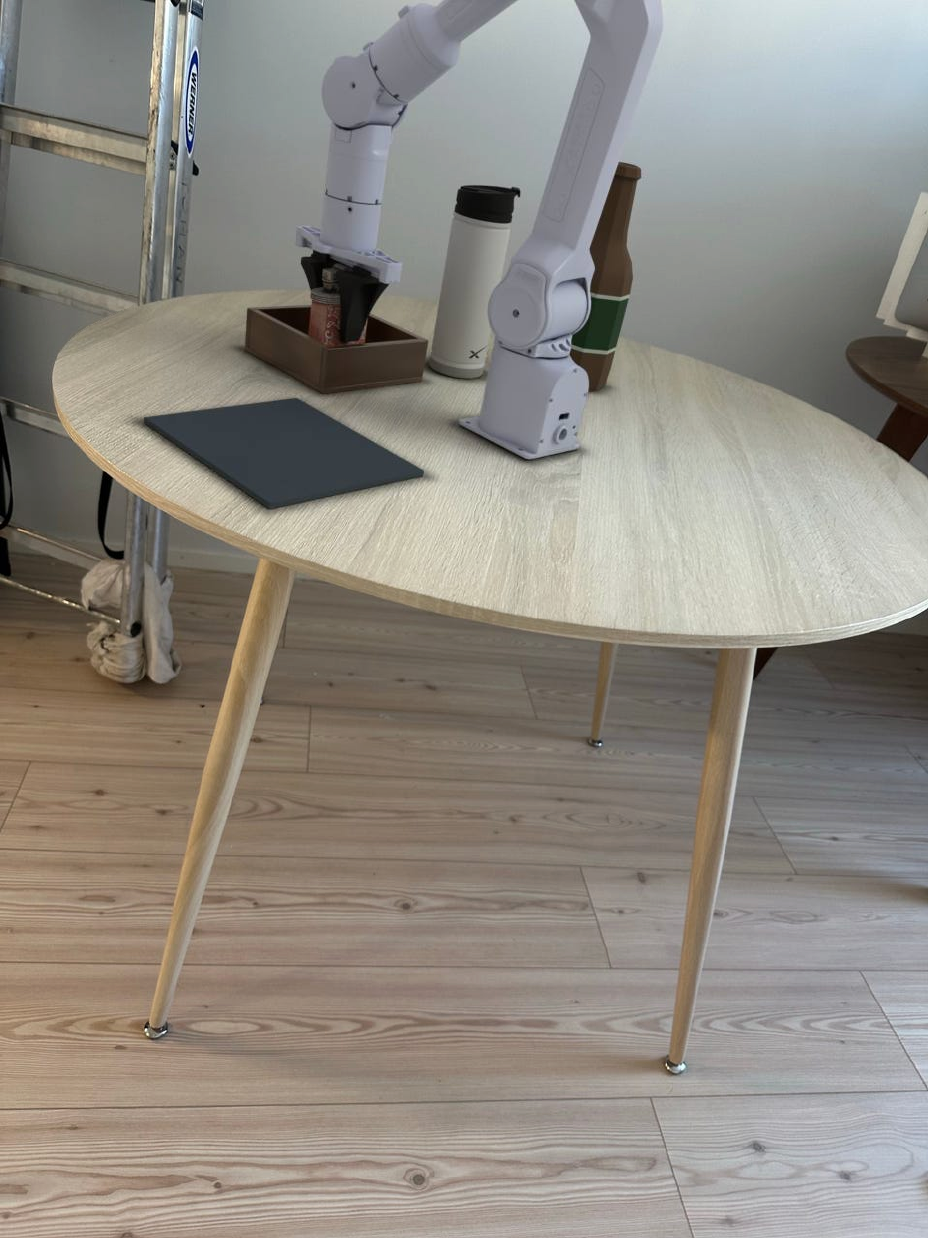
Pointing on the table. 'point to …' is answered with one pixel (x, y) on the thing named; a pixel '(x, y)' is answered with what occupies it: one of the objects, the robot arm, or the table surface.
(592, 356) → the beer bottle
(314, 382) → the brown wooden tray
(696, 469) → the table surface
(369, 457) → the mat
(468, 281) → the travel mug
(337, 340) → the lighter
